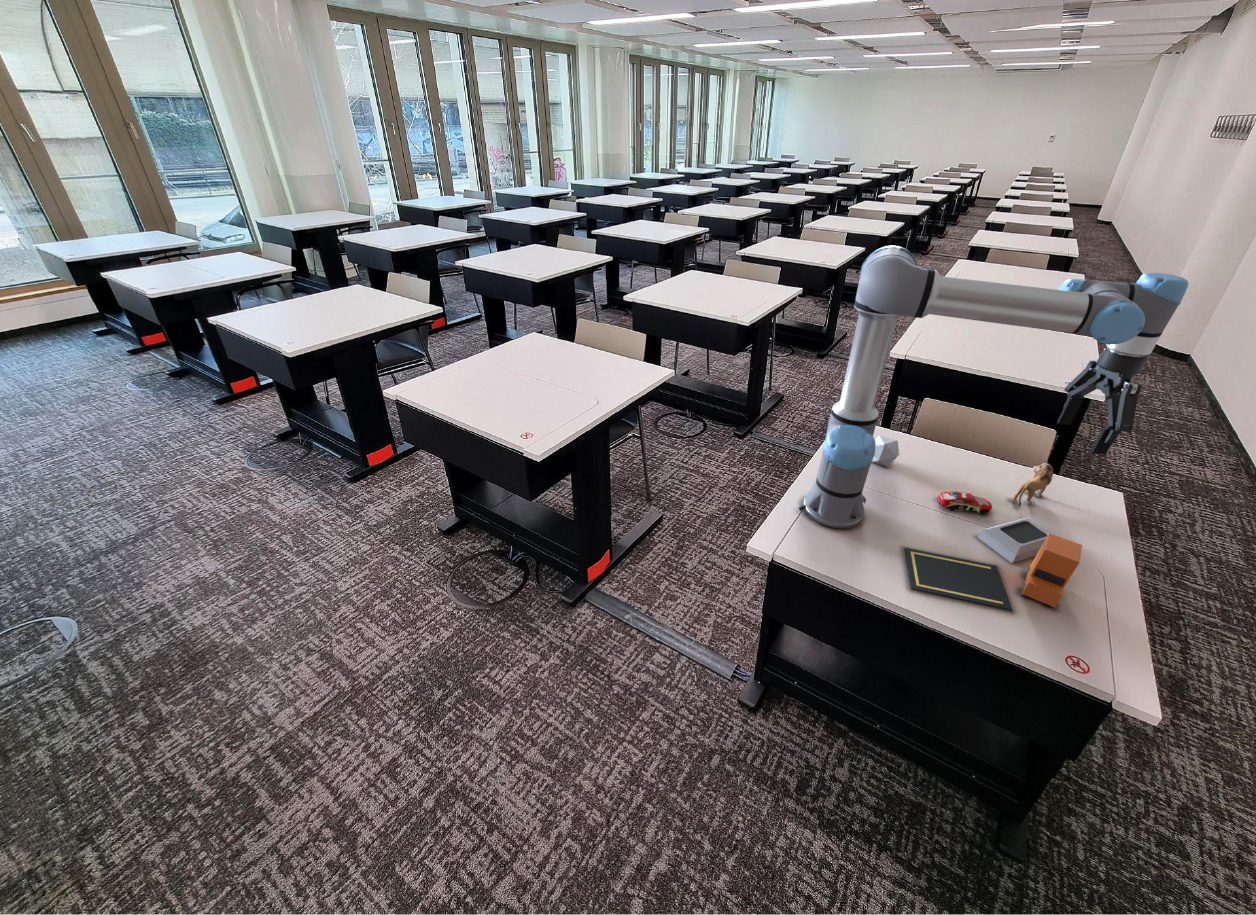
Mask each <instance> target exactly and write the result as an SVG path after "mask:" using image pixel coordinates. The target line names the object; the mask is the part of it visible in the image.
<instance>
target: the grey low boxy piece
mask: <svg viewBox="0 0 1256 915" xmlns="http://www.w3.org/2000/svg"><path fill="white" fill-rule="evenodd" d="M1049 533H1050V534H1052V533H1051V532H1049V531H1048V530H1046V529H1045V528H1043V527H1041V526H1039V524H1037V523H1035V522H1034V521H1032V520H1031V519H1029V518H1028V517H1023V518H1018V519H1016V520H1013V521H1009V522H1005V523H1002V524H999V525H995V526H991V527H988V528H985V529H981V531H980V533H979V534H978V537H977V539H979V540H980V541H981V542H983V543H984V544H986V546H988V547H989V548H991V549H993V551H995V552H996V553H997V554H998V555H1001V557H1003V558H1004V559H1005V560H1007V561H1008V562H1010V563H1011V564H1014V563H1016V562H1020V561H1023V560H1026V559H1030V558H1032V557H1036V555H1037V553H1038V552H1039V550H1040V548H1041V546H1042V544H1043V543H1044V541H1045V539H1046V537H1047V536H1048V534H1049Z"/></svg>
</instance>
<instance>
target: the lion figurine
mask: <svg viewBox="0 0 1256 915" xmlns="http://www.w3.org/2000/svg"><path fill="white" fill-rule="evenodd" d="M1032 468H1033V473H1034V475H1033V478H1032V479H1029V480H1028V479H1027V480H1026V481H1024V483H1023V484H1021V485H1020V487H1019V489H1018V490H1017V491H1016V493H1015V494H1014V495H1013V498H1012V499H1011V502H1012V503H1016V502H1017V501H1018V502H1017V507H1018V508H1020V507H1021V505H1022V497H1023V495H1024V494H1025V492H1026V493H1027V498H1026V504H1027V505H1029V506H1032V505H1033V501H1031V500H1032V499H1033V497H1034V496H1035V493H1036V492H1037V493H1036V496H1037V497H1038V498H1042V497H1043V493H1044V492H1045V490H1046V488H1047V486H1049V485H1050V484H1051V482H1052V481H1053V476H1054V468H1053V466H1052V465H1051V464H1050V463H1047V462H1043V463H1042V464H1040V465H1033V467H1032ZM1017 499H1018V500H1017Z"/></svg>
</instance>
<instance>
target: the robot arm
mask: <svg viewBox="0 0 1256 915" xmlns="http://www.w3.org/2000/svg"><path fill="white" fill-rule="evenodd" d="M859 276H860V277H859V280H858V281H859V282H858V285H857V289H856V295H855V300H854V305H853V307H854V309H855V310H856V311H857V313H858V316H857V317H858V318H857V321H856V322H857V323H856V327H855V332H854V336H853V339H852V345H851V349H850V353H849V358H848V361H847V362H848V363H847V367H846V371H845V376H844V379H843V380H844V381H843V385H842V390H841V392H840V393H841V394H840V399H839V400H838V401H836V402H835V403H833V405H832V407H831V410H830V415H829V420H828V422H827V427H826V435H825V438H824V441H823V449H822V453H821V458H820V463H819V467H818V471H817V475H816V479H815V482H814V483H813V485H812V486H811V487H810V489H808V492H807V493H806V495H804V499H803V503H802V505H801V506H799V507H798V510H799V511H804V512H805V514H806V515H807V517H808V518H810V519H811V520H812V521H814V522H815V523H817V524H819V525H822V526H824V527H827V528H831V529H837V530H839V529H840V530H845V529H847V530H848V529H852V528H855V527H857V526H858V525H860V524H861V523H862V520H863V517H864V515H865V507H864V505H865V504H866V501H867V498H866V497H865V495H864V494H863V491H864V488H865V484H866V482H867V478H868V475H869V472H870V468H871V464H872V462H871V461H872V459H873V458H874V455H875V447H876V444H875V437H874V435H875V430H876V428H877V427H876V426H877V423H878V419H879V415H880V414H879V413H880V412H879V410H878V409H877V407H876V402H877V398H878V394H879V390H880V387H881V383H882V379H883V376H884V371H885V367H886V364H887V359H888V356H889V353H890V348H891V345H892V342H893V337H894V333H895V329H896V325H897V322H898V319H899V318H900V317H910V318H916V319H923V318H925V317H927V316H928V315H933V316H941V317H948V318H955V319H964V320H970V321H977V322H985V323H993V324H1001V325H1007V326H1013V327H1014V326H1015V327H1023V328H1030V329H1038V330H1045V331H1052V332H1058V333H1059V332H1060V333H1067V334H1074V335H1081V336H1087V337H1091V338H1092V339H1093V340H1096V341H1098V342H1100V343H1102V344H1104V345H1105V347H1104V348H1103V349H1102V350H1101V353H1100V354H1099V357H1098V358H1097V360H1089V361H1088V363H1087V365H1086V366H1085V368H1084V369H1082V371H1081V372H1079V374H1078V375H1076V377H1074V378H1073V379H1072V380H1071V381H1070V382H1069V383H1068V384H1067V385H1066V386H1065V387H1064V392H1066V393H1067V394H1066V396H1067V399H1066V400H1065V403H1064V405H1063V409H1062V411H1061V413H1060V415H1059V417H1058V419H1057V421H1056V424H1058V425H1069V426H1070V425H1071V424H1072V422H1073V420H1074V419H1075V417H1076V415H1077V413H1078V411H1079V409H1080V407H1081V405H1082V403H1083V401H1084V400H1083V399H1084V398H1085V396H1087V395H1088V394H1089V395H1090V394H1091V393H1092V392H1094V391H1096V390H1099V391H1101V393H1102V394H1104V398H1105V399H1106V400H1107V426H1103V428H1102V430H1101V432H1100V433H1099V435H1098V437H1097V438H1096V441H1095V442H1094V444H1093V446H1092V447H1091V449H1090V451H1089V453H1090V454H1092V455H1102V456H1103V455H1105V456H1106V455H1107V453H1108V451H1109V450H1110V448H1111V446H1112V444H1114V443H1115V442H1116V440H1117V438H1119V435H1120V433H1121V432H1122V433H1123V432H1125V433H1131V432H1132V431H1133V428H1134V423H1135V416H1136V411H1137V405H1138V400H1139V399H1138V398H1139V395H1140V393H1141V390H1142V388H1143V385H1142V384H1137V383H1133V382H1132V378H1133V377H1134V376H1135V375H1137V374H1140V373H1141V372H1142V370H1143V368H1144V367H1145V365H1146V363H1147V362H1148V360H1149V356H1148V355H1151V354H1152V352H1153V351H1154V349H1155V347H1156V345H1157V343H1158V341H1159V339H1160V338H1161V336H1162V334H1163V333H1164V331H1165V329H1166V327H1167V326H1168V324H1169V323H1170V321H1171V319H1172V317H1173V315H1174V314H1175V312H1176V310H1177V309H1178V307H1179V306H1180V305H1181V303H1182V300H1183V298H1184V296H1185V294H1186V292H1187V289H1188V287H1189V281H1188V280H1187V279H1186V278H1184V277H1182V276H1180V275H1175V274H1169V273H1163V272H1146V273H1144V274H1141V275H1140V277H1139V279H1138V280H1137V281H1135V282H1119V281H1118V282H1117V281H1116V282H1115V281H1106V280H1096V279H1089V278H1069V279H1066V280H1065V281H1064V282H1063V283H1062V284H1061V285H1060V286H1059V288H1058V289H1054V288H1048V287H1047V288H1046V287H1037V286H1030V285H1029V286H1028V285H1021V284H1012V283H1011V284H1010V283H1003V282H994V281H987V280H977V279H970V278H969V279H968V278H961V277H960V278H959V277H952V276H942V275H940V273H939V271H938V270H936V269H929V268H923V267H920V266H918V264H917V260H916V258H915V256H914V255H913V253H911V251H909V250H908V249H906V248H905V247H902V246H899V245H885V246H882V247H880V248H878V249H876V250H874V251H873V252H872V253H870V254H869V255H868V256H867V258H865V260H864V261H863V263H862V265H861V268H860V275H859Z"/></svg>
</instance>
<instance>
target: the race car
mask: <svg viewBox="0 0 1256 915" xmlns="http://www.w3.org/2000/svg"><path fill="white" fill-rule="evenodd" d="M936 500H937V503H938V504H939V505H940V506H941V507H942V508H944V509H945V510H948V511H950V512H954V511H959V512H960V511H961V512H966V513H967V512H968V513H975V514H976V513H978V514H981V515H983V516H984V515H987V514H990V513H991V511H992V509H993V504H992V502H990V501H989V500H988V499H986V498H984V497H980V496H977V495H973V494H972V493H971V492H970V493H969V492H966V491H942V492H940V493H939V494H938V495H937V498H936Z"/></svg>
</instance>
